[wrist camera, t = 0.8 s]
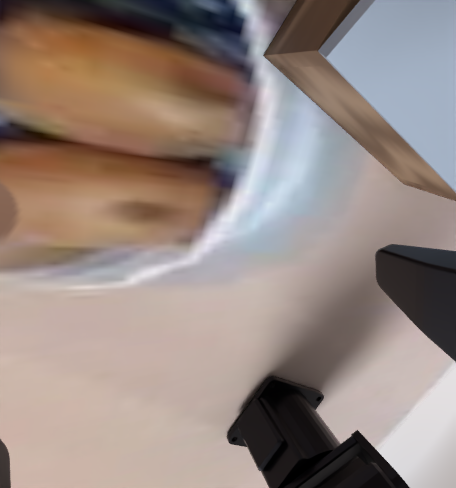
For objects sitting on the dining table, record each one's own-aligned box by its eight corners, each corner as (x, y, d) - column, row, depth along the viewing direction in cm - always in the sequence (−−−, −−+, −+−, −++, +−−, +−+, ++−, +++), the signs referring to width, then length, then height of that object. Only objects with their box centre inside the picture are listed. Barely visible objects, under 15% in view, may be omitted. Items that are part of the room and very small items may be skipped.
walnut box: (492, 57, 26) (577, 53, 21) (403, 184, 27) (466, 204, 23) (375, -129, 19) (467, -190, 14) (263, 55, 20) (316, 50, 16)
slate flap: (548, 142, 21) (563, 151, 20) (468, 205, 23) (479, 215, 22) (417, -69, 14) (433, -68, 13) (317, 50, 16) (326, 57, 15)
